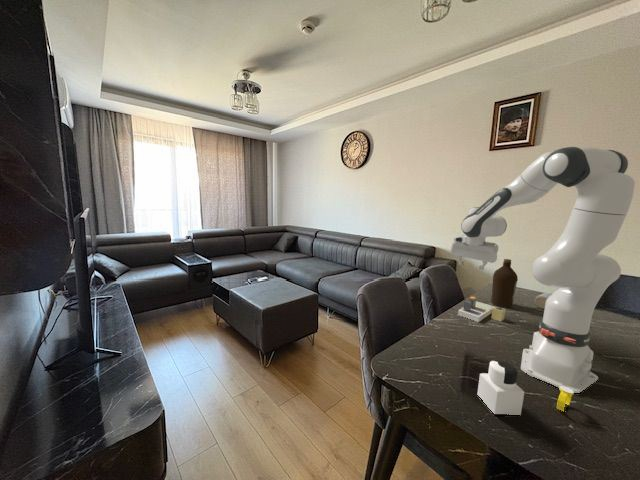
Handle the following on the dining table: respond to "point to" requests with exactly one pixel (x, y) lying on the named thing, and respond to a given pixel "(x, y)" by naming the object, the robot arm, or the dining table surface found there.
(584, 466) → the dining table surface
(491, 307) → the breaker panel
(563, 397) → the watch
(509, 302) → the olive oil
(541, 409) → the dining table surface
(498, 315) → the tan block with knob
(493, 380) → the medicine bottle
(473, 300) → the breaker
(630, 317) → the dining table surface
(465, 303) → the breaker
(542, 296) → the ceramic mug
